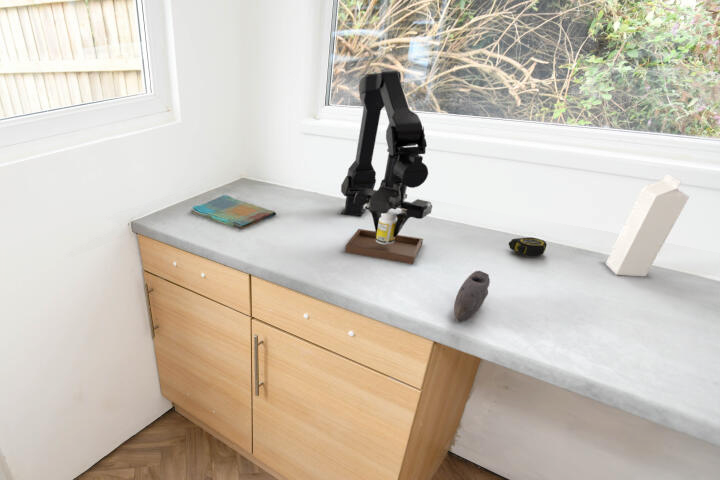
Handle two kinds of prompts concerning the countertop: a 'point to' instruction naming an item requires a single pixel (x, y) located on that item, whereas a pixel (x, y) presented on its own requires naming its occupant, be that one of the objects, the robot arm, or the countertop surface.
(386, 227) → the supplement bottle
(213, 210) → the dish towel
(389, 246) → the tray
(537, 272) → the countertop surface
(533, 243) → the tape measure
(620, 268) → the milk
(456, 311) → the perforated stone tool
